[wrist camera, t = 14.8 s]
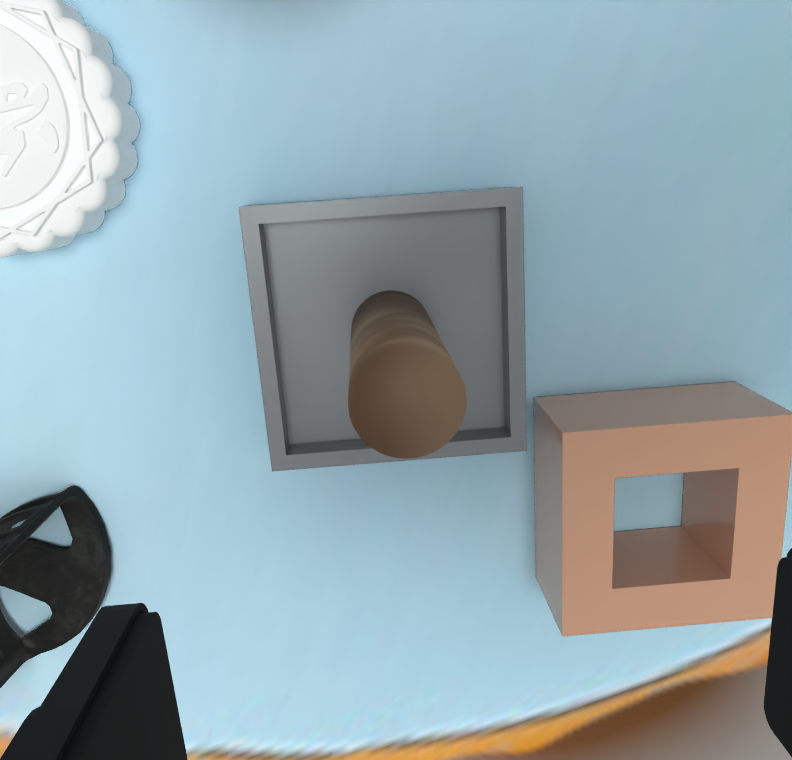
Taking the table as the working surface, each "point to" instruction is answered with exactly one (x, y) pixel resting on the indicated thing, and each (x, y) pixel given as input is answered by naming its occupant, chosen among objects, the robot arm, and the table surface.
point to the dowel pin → (402, 379)
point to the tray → (375, 272)
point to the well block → (669, 546)
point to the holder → (52, 574)
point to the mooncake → (59, 127)
